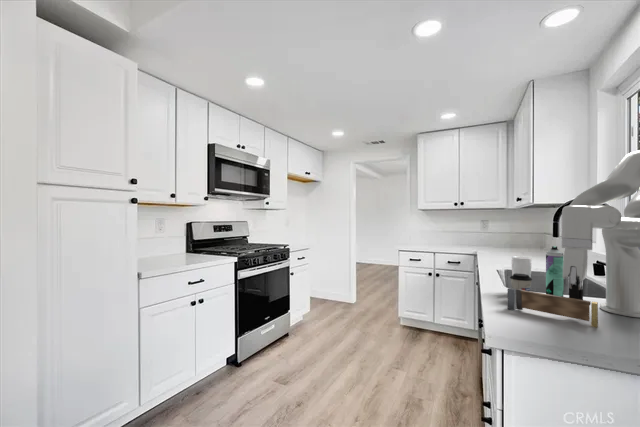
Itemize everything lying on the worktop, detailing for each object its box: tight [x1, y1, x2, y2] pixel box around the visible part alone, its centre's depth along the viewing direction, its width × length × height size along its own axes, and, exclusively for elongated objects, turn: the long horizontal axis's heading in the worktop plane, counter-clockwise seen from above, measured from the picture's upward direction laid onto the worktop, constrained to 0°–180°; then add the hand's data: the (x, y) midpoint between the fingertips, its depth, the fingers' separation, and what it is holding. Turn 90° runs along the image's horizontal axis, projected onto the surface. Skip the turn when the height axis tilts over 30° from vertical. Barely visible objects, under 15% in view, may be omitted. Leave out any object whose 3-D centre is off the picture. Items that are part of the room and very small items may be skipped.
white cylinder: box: [511, 255, 532, 278], centre depth 123 cm, size 7×7×15 cm
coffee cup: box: [509, 273, 533, 291], centre depth 113 cm, size 7×7×10 cm
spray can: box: [545, 245, 564, 297], centre depth 119 cm, size 6×6×20 cm
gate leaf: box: [515, 289, 592, 322], centre depth 95 cm, size 19×2×7 cm, turn 41°
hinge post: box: [507, 287, 517, 311], centre depth 104 cm, size 2×2×7 cm
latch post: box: [590, 301, 599, 329], centre depth 88 cm, size 2×1×7 cm, turn 131°
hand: (575, 301), depth 96 cm, fingers closed
